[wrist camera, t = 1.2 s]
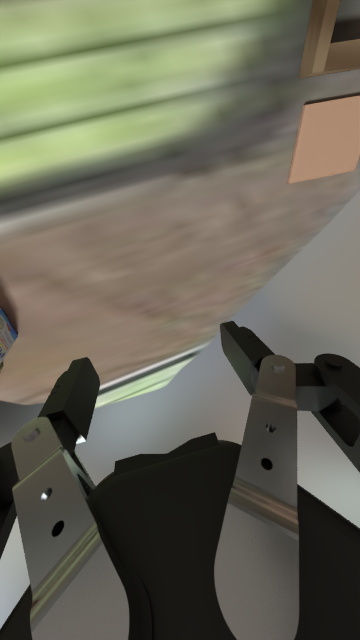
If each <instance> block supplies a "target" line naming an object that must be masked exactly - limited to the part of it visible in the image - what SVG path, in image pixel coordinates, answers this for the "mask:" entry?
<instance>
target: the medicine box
mask: <svg viewBox="0 0 360 640" xmlns="http://www.w3.org/2000/svg"><path fill="white" fill-rule="evenodd" d="M17 337H18V336H17V334H16V332H15V330H14V329H13V327H12V325H11V324H10V322H9V320H8V318H7V317H6V315H5V313H4V312H3V310H2V309H1V308H0V364H1V362H2V361H3V359H4V358H5V356H6V354H7V353H8V351H9V350H10V348H11V346H12V345H13V343H14V341H15V340H16V338H17Z"/></svg>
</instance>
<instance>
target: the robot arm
mask: <svg viewBox="0 0 360 640" xmlns="http://www.w3.org/2000/svg"><path fill="white" fill-rule="evenodd" d="M220 332H221V341H222V342H221V343H222V348H223V351H224V354H225V355H226V357H227V358H228V360H229V362H230V363H231V365H232V367H233V368H234V370H235V371H236V373H237V375H238V376H239V378H240V379H241V381H242V383H243V384H244V386H245V388H246V389H247V391H248V392H249V394H250V395H253V396H252V400H251V405H250V409H249V414H248V419H247V423H246V428H245V432H244V437H243V442H242V445H239V444H237V443H234V442H230V441H224V440H217V437H216V434H215V433H211V434H208V435H204V436H201V437H197V438H194V439H191V440H189V441H187V442H186V443H184V444H182V445H181V446H179V447H178V448H176V449H174V450H173V451H171V452H169V453H167V454H139V455H135V456H132V457H129V458H125V459H122V460H118V461H115V469H114V472H112V473H111V474H110V475H108V476H107V477H106V478H104V479H103V480H102V481H101V482H100V483H99V484H98V485H97V486H95V484H94V483H93V481H92V480H91V478H90V476H89V474H88V473H87V471H86V469H85V467H84V465H83V464H82V462H81V460H80V458H79V457H78V455H77V453H76V452H75V446H76V444H77V443H81V442H84V441H86V439H87V435H88V431H89V427H90V423H91V419H92V415H93V411H94V407H95V403H96V399H97V395H98V391H99V388H100V380H99V376H98V374H97V373H96V371H95V369H94V367H93V365H92V363H91V361H90V359H89V358H87V357H85V358H81V359H77V360H73V361H72V363H71V365H70V367H69V369H68V371H65V372H64V373H63V374H62V375H61V376H60V377H59V378H58V380H57V381H56V383H55V385H54V388H53V389H52V391H51V393H50V395H49V397H48V399H47V400H46V402H45V404H44V406H43V408H42V410H41V412H40V414H39V416H38V417H37V418H36V419H34V420H32V421H30V422H29V423H27V424H26V425H24V426H23V427H22V428H21V429H20V430H19V431H18V432H17V433H16V435H15V436H14V438H13V440H12V442H10V443H8V444H7V445H5V446H3V447H1V448H0V558H1V556H2V553H3V551H4V548H5V545H6V543H7V540H8V538H9V535H10V532H11V530H12V527H13V524H14V522H15V519H16V516H17V517H18V523H19V528H20V532H21V537H22V543H23V548H24V553H25V559H26V564H27V569H28V574H29V579H30V585H29V587H28V588H27V590H26V591H25V593H24V594H23V596H22V597H21V599H20V600H19V602H18V603H17V605H16V606H15V608H14V609H13V611H12V612H11V614H10V616H9V617H8V618H7V620H6V622H5V623H4V624H3V626H2V628H1V629H0V640H360V528H358V527H357V526H356V525H354V524H353V523H351V522H350V521H349V520H347V519H346V518H344V517H343V516H342V515H340V514H339V513H337V512H336V511H334V510H333V509H332V508H330V507H329V506H327V505H326V504H325V503H323V502H322V501H321V500H319V499H318V498H316V497H315V496H314V495H312V494H311V493H309V492H308V491H306V490H305V489H304V488H302V487H301V486H299V485H298V484H297V410H302V411H311V412H312V414H313V415H314V416H315V417H316V418H317V420H318V421H319V422H320V423H321V425H322V426H323V427H324V428H325V430H326V431H327V432H328V433H329V435H330V436H331V437H332V438H333V440H334V441H335V442H336V443H337V445H338V446H339V447H340V448H341V450H342V451H343V452H344V453H345V455H346V456H347V457H348V458H349V460H350V461H351V462H352V463H353V465H354V466H355V467H356V468H357V470H358V471H359V472H360V368H359V367H358V366H356V365H355V364H354V363H352V362H351V361H350V360H348V359H346V358H344V357H342V356H339V355H335V354H321V355H318V356H317V357H316V358H315V360H314V363H303V364H302V363H300V364H296V363H293V362H292V361H291V360H290V359H288V358H287V357H284V356H280V355H275V354H274V353H273V352H272V351H271V350H270V349H269V348H268V347H267V346H266V345H265V344H264V343H263V342H262V341H261V340H260V339H259V338H258V337H257V336H256V335H255V334H254V333H253V332H252V331H251V330H250V329H248V328H245V327H238V326H237V325H236V324H235V322H234V321H230V322H225V323H222V324H220Z"/></svg>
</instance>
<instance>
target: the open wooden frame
mask: <svg viewBox="0 0 360 640" xmlns="http://www.w3.org/2000/svg"><path fill="white" fill-rule="evenodd" d="M339 3H340V0H313V3H312V8H311V13H310V19H309V24H308V30H307V35H306V41H305V46H304V52H303V57H302V63H301V68H300V74H299V79H301V78H307V77H313V76H319V75H325V74H331V73H337V72H344V71H350V70H356V69H360V39H356V40H349V41H343V42H336V43H330V42H331V38H332V33H333V29H334V25H335V21H336V16H337V12H338V8H339Z"/></svg>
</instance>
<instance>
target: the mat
mask: <svg viewBox="0 0 360 640" xmlns="http://www.w3.org/2000/svg"><path fill="white" fill-rule="evenodd" d="M359 156H360V96H354V97H348V98H343V99H337V100H331V101H326V102H320V103H314V104H308V105H303V110H302V115H301V120H300V125H299V129H298V134H297V139H296V144H295V149H294V154H293V159H292V163H291V168H290V173H289V178H288V184H290V183H295V182H300V181H305V180H310V179H315V178H320V177H325V176H330V175H335V174H340V173H345V172H350V171H354V169H355V167H356V164H357V161H358V159H359Z"/></svg>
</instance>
